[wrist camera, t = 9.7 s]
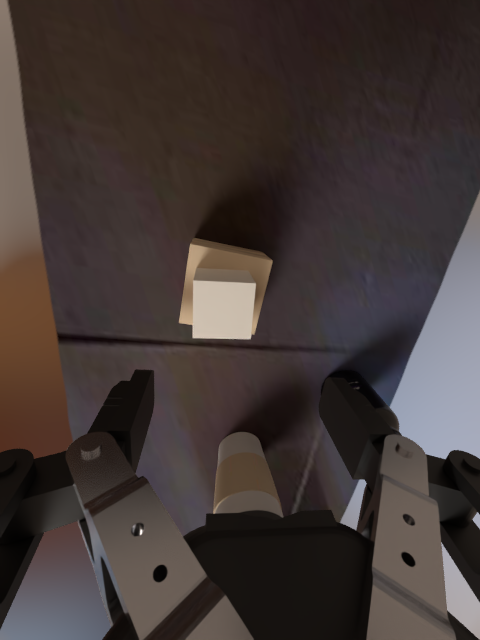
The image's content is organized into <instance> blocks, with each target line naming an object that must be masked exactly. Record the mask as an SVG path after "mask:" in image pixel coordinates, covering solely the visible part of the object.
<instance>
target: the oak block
mask: <svg viewBox="0 0 480 640" xmlns="http://www.w3.org/2000/svg"><path fill="white" fill-rule="evenodd" d="M272 262H273V260H271V259H270V258H269V257H268V256H267V255H265V254H264V253H263V252H260V251H255V250H250V249H245V248H241V247H236V246H231V245H226V244H221V243H217V242H212V241H207V240H202V239H197V238H193V240H192V242H191V243H190V249H189V256H188V263H187V270H186V277H185V284H184V291H183V298H182V305H181V312H180V319H179V323H183V324H190V325H193V279H194V275H195V271H196V268H208V269H228V270H247V271H249V273H250V274H251V276H252V278H253V279H254V281H255V283H256V289H255V299H254V310H253V320H252V331H251V334H254V333H255V330H256V326H257V322H258V318H259V314H260V310H261V306H262V302H263V298H264V294H265V290H266V286H267V282H268V278H269V274H270V270H271V266H272Z"/></svg>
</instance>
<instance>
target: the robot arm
mask: <svg viewBox="0 0 480 640" xmlns="http://www.w3.org/2000/svg"><path fill="white" fill-rule="evenodd" d="M153 408H154V371H153V370H135V371H134V374H133V376H132V378H131V380H130V381H120V382H119V383H118V384H117V385H115V386H114V387H113V388H112V389H111V391H110V393H109V395H108V397H107V399H106V400H105V402H104V404H103V406H102V408H101V409H100V411H99V413H98V415H97V417H96V419H95V420H94V422H93V424H92V426H91V428H90V430H89V431H88V433H87V434H85V435H83V436H81V437H79V438H78V439H76V440H75V441H74V442H73V443H71V445H70V446H69V447H68V449H67V450H66V451H64V452H61V453H57V454H53V455H49V456H45V457H40V458H36V459H34V457H33V454H32V453H31V452H30V451H28V450H25V449H11V450H7V451H4V452H1V453H0V629H1V627H2V624H3V622H4V620H5V618H6V616H7V613H8V611H9V609H10V607H11V605H12V602H13V600H14V598H15V596H16V593H17V591H18V589H19V587H20V585H21V583H22V580H23V578H24V576H25V574H26V572H27V569H28V567H29V565H30V563H31V560H32V558H33V556H34V554H35V552H36V549H37V547H38V545H39V543H40V540H41V538H42V536H43V534H44V532H46V531H49V530H52V529H55V528H58V527H61V526H64V525H67V524H70V523H73V522H76V521H77V522H78V525H79V528H80V531H81V534H82V536H83V539H84V542H85V545H86V548H87V551H88V554H89V557H90V560H91V563H92V565H93V568H94V571H95V575H96V578H97V582H98V586H99V590H100V594H101V597H102V600H103V604H104V607H105V610H106V612H107V615H108V618H109V621H110V624H111V628H110V630H109V631H108V632H107V634H106V635H105V637H104V638H103V639H102V640H479V639H478V638H477V637H475V636H474V634H473V633H471V632H470V631H469V630H468V629H467V628H466V627H465V626H464V625H463V624H461V623H460V622H459V621H458V620H457V619H456V618H455V617H454V616H452V615H451V614H450V613H449V612H448V611H447V605H446V593H445V581H444V570H443V558H442V547H441V542H442V544H443V545H444V547H445V548H446V550H447V551H448V553H449V555H450V556H451V558H452V559H453V561H454V563H455V564H456V566H457V567H458V569H459V570H460V572H461V574H462V575H463V577H464V578H465V580H466V581H467V583H468V584H469V586H470V588H471V589H472V591H473V592H474V594H475V596H476V597H477V599H478V600H479V602H480V529H479V528H478V527H477V525H476V524H475V523H474V522H473V520H472V519H473V518H474V516H475V515H476V513H477V512H478V513H479V514H480V459H479V458H477V457H476V456H473V455H471V454H469V453H467V452H464V451H459V450H454V451H451V452H450V453H449V455H448V456H447V458H446V459H442V458H438V457H434V456H430V455H426V454H425V452H424V451H423V449H422V448H421V447H420V446H419V445H417V444H416V443H415V442H413V441H412V440H410V439H408V438H406V437H403V436H400V435H396V434H395V433H394V432H393V430H392V429H391V428H390V427H389V426H388V424H387V423H386V422H385V421H384V419H383V418H382V417H381V416H380V414H379V413H378V412H376V410H375V408H374V407H373V406H371V403H370V402H369V401H368V400H367V398H366V397H365V396H364V395H362V394H361V393H360V392H358V391H357V390H356V389H352V387H351V386H350V385H349V383H348V382H347V381H346V380H345V379H344V378H330V377H328V378H327V379H326V380H325V383H324V387H323V391H322V395H321V398H320V402H319V414H320V417H321V419H322V421H323V423H324V425H325V427H326V429H327V431H328V433H329V435H330V436H331V438H332V440H333V442H334V444H335V446H336V448H337V450H338V452H339V454H340V456H341V458H342V460H343V462H344V463H345V465H346V467H347V469H348V471H349V473H350V475H351V477H352V479H365V481H366V483H367V484H366V487H365V490H364V494H363V500H362V505H361V510H360V516H359V521H358V525H357V530H354V529H352V528H350V527H348V526H346V525H343V524H341V523H338V522H336V521H335V518H334V516H333V513H332V511H331V510H315V511H300V512H297V513H294V514H292V515H289V516H286V517H283V518H280V519H277V520H273V521H271V520H266V519H262V518H258V517H254V516H250V515H246V514H242V513H214V514H206V524H205V526H202V527H199V528H197V529H195V530H193V531H191V532H189V533H188V534H186V535H185V536H182V535H181V533H180V531H179V530H178V528H177V527H176V525H175V523H174V522H173V520H172V519H171V517H170V515H169V514H168V512H167V511H166V509H165V507H164V506H163V504H162V503H161V501H160V499H159V498H158V496H157V495H156V493H155V491H154V490H153V488H152V487H151V485H150V483H149V482H148V480H147V479H146V478H145V477H144V476H142V477H140V478H138V477H137V476H136V474H135V473H136V469H137V466H138V462H139V459H140V455H141V452H142V448H143V445H144V441H145V438H146V434H147V431H148V427H149V424H150V420H151V417H152V413H153Z"/></svg>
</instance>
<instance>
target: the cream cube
mask: <svg viewBox="0 0 480 640" xmlns="http://www.w3.org/2000/svg"><path fill="white" fill-rule="evenodd" d="M255 289H256V283H255V281H254V279H253V278H252V276H251V274H250V273H249V271H247V270H228V269H208V268H196V271H195V275H194V279H193V338H218V339H251V331H252V320H253V310H254V299H255Z"/></svg>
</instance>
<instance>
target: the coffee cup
mask: <svg viewBox="0 0 480 640" xmlns="http://www.w3.org/2000/svg"><path fill="white" fill-rule="evenodd" d="M214 513H242V514H246V515H250V516H254V517H258V518H262V519H266V520H271V521H273V520H277V519H280V518H283V514H282V511H281V504H280V501H279V498H278V495H277V491H276V488H275V485H274V482H273V479H272V476H271V473H270V470H269V467H268V464H267V462H266V460H265V456H264V453H263V450H262V447H261V444H260V441H259V439H258V438H257V437H256V436H255V435H253V434H251V433H248V432H237V433H233V434H231V435H229V436H227V437H226V438H224V439H223V440H222V442H221V443H220V445H219V452H218V468H217V472H216V484H215V497H214V510H213V514H214Z"/></svg>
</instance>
